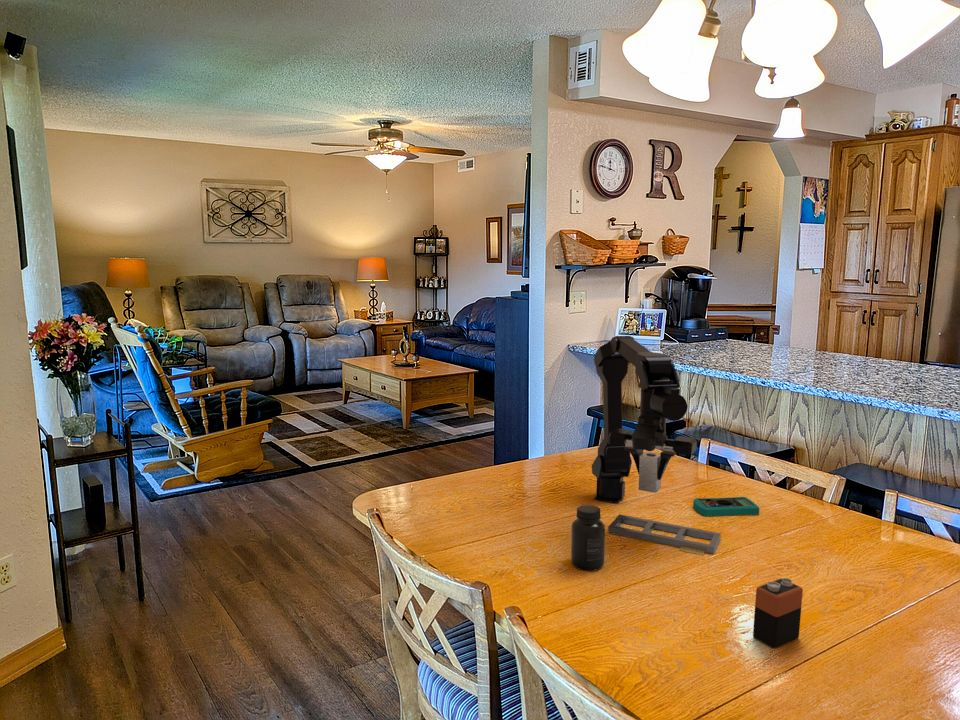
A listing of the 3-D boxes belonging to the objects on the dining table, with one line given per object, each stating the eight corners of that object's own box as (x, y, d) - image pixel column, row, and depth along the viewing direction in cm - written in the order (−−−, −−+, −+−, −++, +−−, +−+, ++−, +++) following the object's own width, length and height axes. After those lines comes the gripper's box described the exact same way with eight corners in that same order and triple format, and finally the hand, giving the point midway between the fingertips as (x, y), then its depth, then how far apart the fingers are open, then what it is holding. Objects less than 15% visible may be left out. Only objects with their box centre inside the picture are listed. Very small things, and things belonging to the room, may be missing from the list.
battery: (751, 637, 115) (755, 581, 113) (777, 626, 118) (781, 572, 116) (774, 650, 111) (778, 592, 109) (800, 638, 114) (804, 582, 113)
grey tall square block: (638, 489, 155) (639, 455, 153) (643, 484, 158) (644, 450, 157) (656, 492, 153) (657, 457, 151) (660, 487, 156) (662, 453, 155)
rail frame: (605, 535, 156) (606, 529, 156) (619, 520, 165) (619, 514, 164) (712, 557, 145) (712, 550, 145) (720, 539, 154) (720, 533, 154)
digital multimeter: (690, 507, 174) (691, 496, 174) (745, 506, 176) (746, 495, 176) (702, 518, 167) (703, 507, 167) (760, 516, 169) (761, 505, 168)
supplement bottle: (606, 559, 143) (608, 505, 142) (601, 573, 137) (603, 516, 135) (574, 554, 146) (575, 501, 144) (567, 568, 139) (569, 512, 137)
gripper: (601, 412, 150) (598, 481, 152) (687, 423, 141) (683, 495, 143) (617, 403, 160) (614, 468, 162) (698, 412, 151) (695, 480, 153)
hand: (650, 478), depth 155 cm, fingers closed on grey tall square block, 4 cm apart
